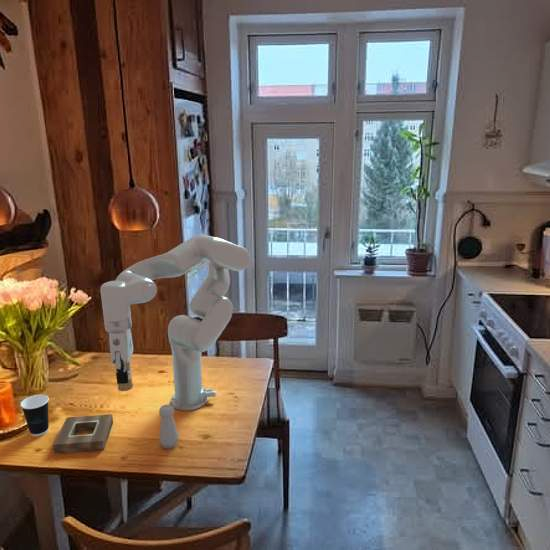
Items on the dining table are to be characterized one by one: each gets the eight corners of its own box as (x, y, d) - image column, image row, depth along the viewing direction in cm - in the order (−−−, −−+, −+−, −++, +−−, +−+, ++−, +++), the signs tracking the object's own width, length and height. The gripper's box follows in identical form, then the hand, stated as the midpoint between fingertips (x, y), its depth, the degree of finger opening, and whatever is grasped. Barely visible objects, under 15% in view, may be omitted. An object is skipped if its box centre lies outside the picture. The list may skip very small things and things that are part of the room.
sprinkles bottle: (135, 389, 145) (130, 348, 141) (120, 393, 142) (115, 352, 138) (130, 382, 148) (126, 343, 144) (115, 387, 146) (110, 347, 142)
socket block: (113, 422, 154) (112, 413, 153) (104, 450, 141) (102, 440, 140) (68, 426, 153) (66, 417, 152) (54, 454, 139) (53, 444, 138)
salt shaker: (170, 436, 147) (168, 399, 144) (183, 443, 144) (180, 406, 140) (155, 445, 143) (152, 407, 139) (167, 453, 140) (164, 414, 136)
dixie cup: (36, 442, 145) (31, 410, 141) (20, 435, 148) (14, 403, 145) (58, 428, 151) (54, 398, 148) (42, 422, 155) (37, 392, 152)
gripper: (126, 334, 131) (132, 392, 137) (135, 311, 147) (140, 364, 153) (98, 335, 130) (105, 394, 136) (110, 313, 146) (116, 366, 152)
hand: (124, 378), depth 144 cm, fingers closed on sprinkles bottle, 4 cm apart
